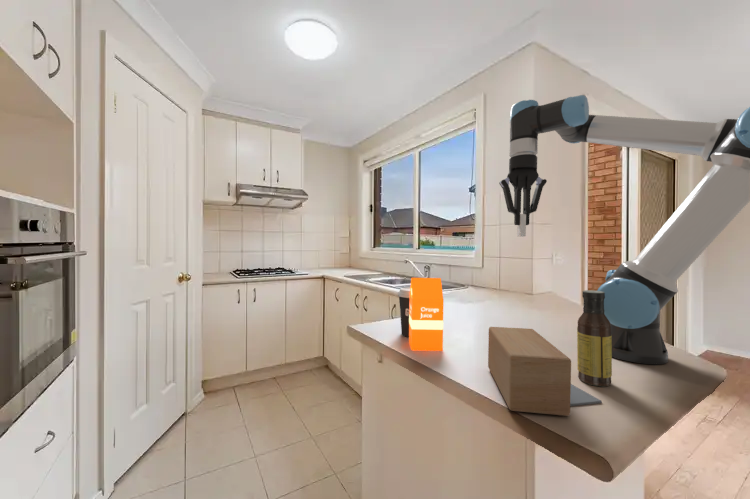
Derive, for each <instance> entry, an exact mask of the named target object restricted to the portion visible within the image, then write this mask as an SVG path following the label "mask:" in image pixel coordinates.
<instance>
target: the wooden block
mask: <svg viewBox="0 0 750 499" xmlns="http://www.w3.org/2000/svg"><path fill="white" fill-rule="evenodd" d="M487 348H488V350H487V352H488V353H487V354H488V355H487V356H488V357H487V360H488V361H487V362H488V363H487V364H488V365H487V367H488V369H489V372H490V374H491V376H492V378H493V379H494V382H495V383H496V385H497V387H498V390H499V391H500V394H502V397H503V399H504V401H505V402H506V404H507V407H508V409H509V410H510V411H513V412H523V413H532V414H534V413H535V414H542V415H543V414H544V415H554V416H555V415H556V416H570V415H571V406H570V393H571V384H572V359H571V358H570V357H568V356H567V355H566V354H565V353H563V352H562V351H560V349H559V348H557V347H556V346H554V345H553V344H552V343H551V342H550V341H548V340H547V339H546V338H545V337H544V336H542V335H540V333H538V332H537V331H536V330H534V329H533V328H526V327H525V328H523V327H506V326H505V327H504V326H503V327H502V326H489V328H488V346H487Z"/></svg>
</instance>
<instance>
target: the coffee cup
mask: <svg viewBox="0 0 750 499" xmlns="http://www.w3.org/2000/svg"><path fill="white" fill-rule="evenodd" d="M410 287H411V286H408V287H401V288H400V289H399V291H398V293H397V297H398V300H399V302H398V303H399V312H400V313H399V314H400V330H401V336H402V337H404V338H405V337H406V338H409V302H410Z"/></svg>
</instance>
